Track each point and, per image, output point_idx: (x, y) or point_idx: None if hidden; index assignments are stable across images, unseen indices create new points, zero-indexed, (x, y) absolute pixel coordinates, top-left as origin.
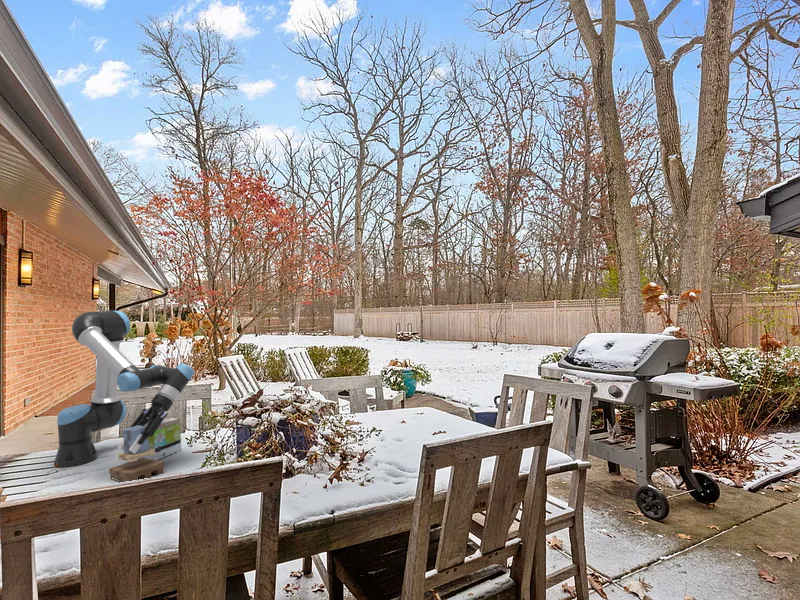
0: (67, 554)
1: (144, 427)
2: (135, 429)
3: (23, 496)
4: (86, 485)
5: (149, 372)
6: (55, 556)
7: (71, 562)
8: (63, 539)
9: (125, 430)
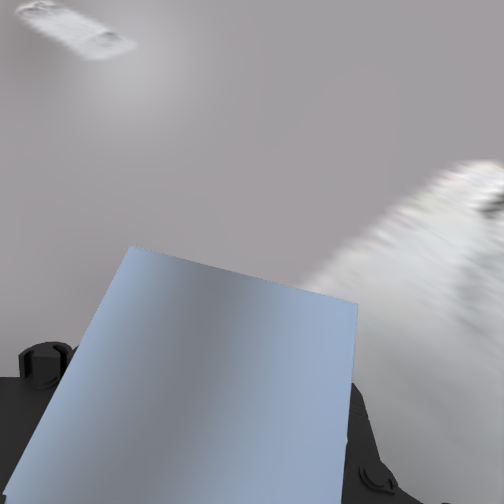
0: (56, 30)
1: (18, 465)
2: (126, 316)
3: (467, 179)
4: (362, 269)
5: None
6: (74, 26)
7: (30, 19)
8: (108, 55)
9: (290, 289)
